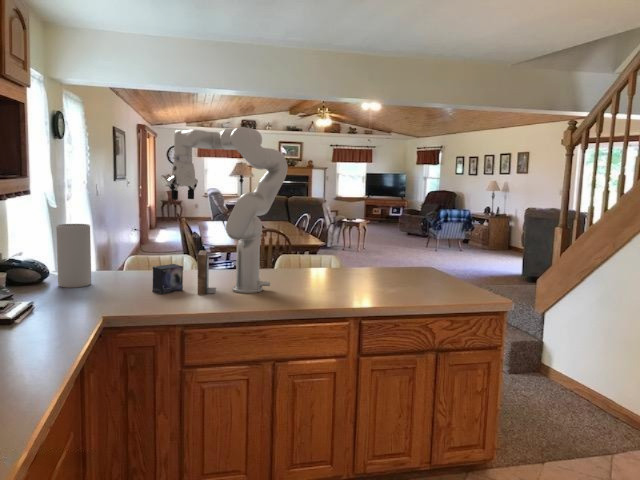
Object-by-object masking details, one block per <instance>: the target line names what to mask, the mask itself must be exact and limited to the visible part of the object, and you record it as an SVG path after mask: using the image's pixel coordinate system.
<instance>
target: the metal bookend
mask: <svg viewBox="0 0 640 480" xmlns="http://www.w3.org/2000/svg"><path fill="white" fill-rule="evenodd" d="M209 259H210V255H208V254H207V258H206V272H205V295H215V293H216V289H217V288H216V287H209V283H210V282H209V280H210V279H209V276H210V275H209V274H210V272H209V270H210V267H209V265H210V264H209V263H210V262H209V261H210V260H209Z"/></svg>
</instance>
